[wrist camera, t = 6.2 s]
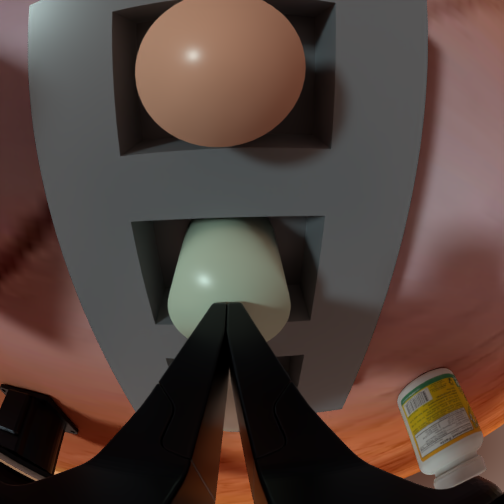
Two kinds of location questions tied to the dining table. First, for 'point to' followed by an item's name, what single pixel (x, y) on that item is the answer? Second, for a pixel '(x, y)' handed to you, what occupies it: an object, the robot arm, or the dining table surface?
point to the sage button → (230, 273)
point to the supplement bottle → (442, 428)
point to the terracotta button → (220, 70)
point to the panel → (232, 180)
